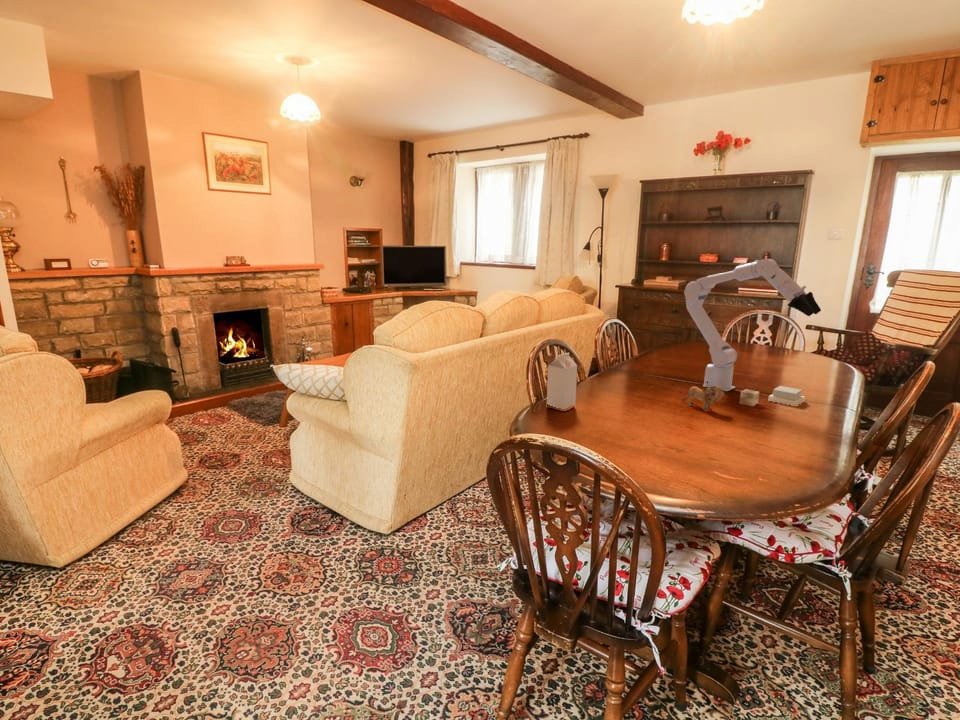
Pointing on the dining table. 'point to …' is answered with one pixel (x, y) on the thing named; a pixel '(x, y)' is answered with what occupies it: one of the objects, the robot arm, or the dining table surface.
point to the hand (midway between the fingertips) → (815, 313)
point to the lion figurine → (705, 395)
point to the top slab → (787, 393)
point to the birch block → (749, 397)
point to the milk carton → (562, 382)
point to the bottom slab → (787, 400)
